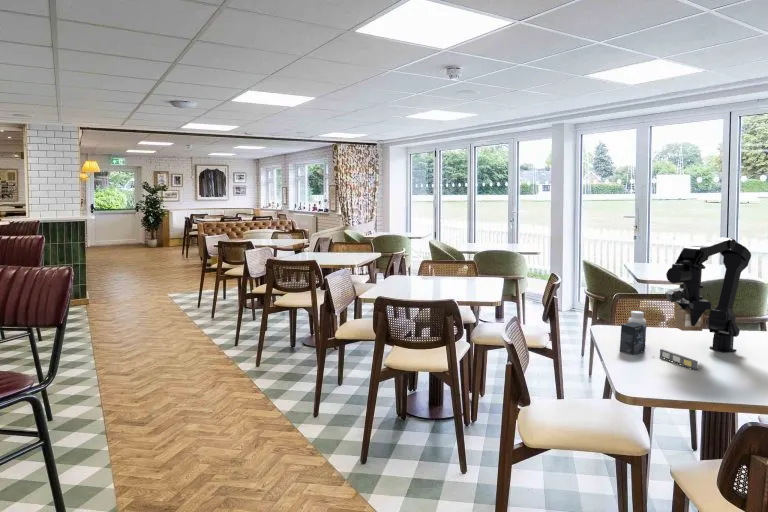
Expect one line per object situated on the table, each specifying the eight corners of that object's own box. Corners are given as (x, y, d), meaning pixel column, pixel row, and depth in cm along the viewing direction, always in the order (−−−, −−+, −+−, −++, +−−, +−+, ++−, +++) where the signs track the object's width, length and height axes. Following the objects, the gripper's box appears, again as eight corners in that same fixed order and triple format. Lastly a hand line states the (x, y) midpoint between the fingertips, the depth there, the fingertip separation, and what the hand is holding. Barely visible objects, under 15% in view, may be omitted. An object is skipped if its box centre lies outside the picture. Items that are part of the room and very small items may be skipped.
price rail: (659, 357, 206) (659, 349, 206) (665, 356, 207) (665, 348, 207) (694, 370, 191) (694, 361, 191) (700, 369, 192) (700, 360, 191)
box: (633, 354, 209) (634, 326, 208) (619, 351, 214) (620, 323, 213) (645, 351, 214) (646, 324, 212) (631, 348, 218) (633, 321, 217)
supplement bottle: (644, 342, 227) (646, 310, 225) (646, 346, 221) (647, 314, 219) (626, 341, 229) (627, 309, 228) (627, 345, 223) (629, 313, 221)
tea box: (695, 327, 209) (696, 308, 208) (702, 331, 204) (703, 311, 203) (675, 327, 209) (676, 308, 208) (682, 330, 204) (683, 311, 203)
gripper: (658, 277, 214) (656, 318, 216) (680, 285, 196) (677, 329, 197) (688, 278, 213) (686, 318, 215) (714, 285, 195) (711, 330, 197)
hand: (689, 324), depth 206 cm, fingers closed on tea box, 5 cm apart
